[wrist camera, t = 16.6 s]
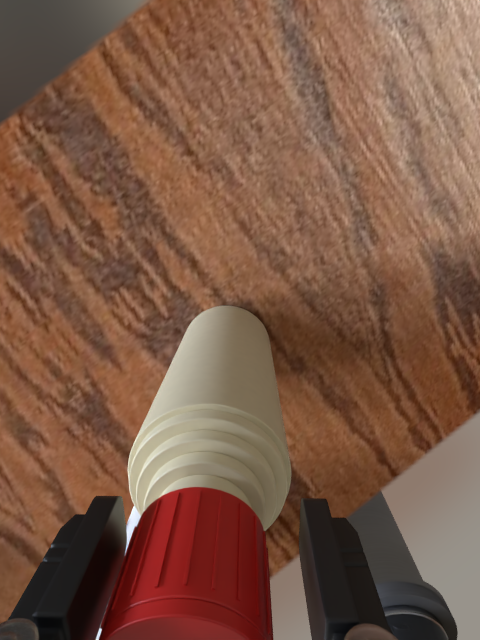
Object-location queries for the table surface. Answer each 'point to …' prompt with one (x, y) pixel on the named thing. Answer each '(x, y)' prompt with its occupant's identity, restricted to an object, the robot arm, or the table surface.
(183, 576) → the cap
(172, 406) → the sauce bottle
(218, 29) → the table surface
